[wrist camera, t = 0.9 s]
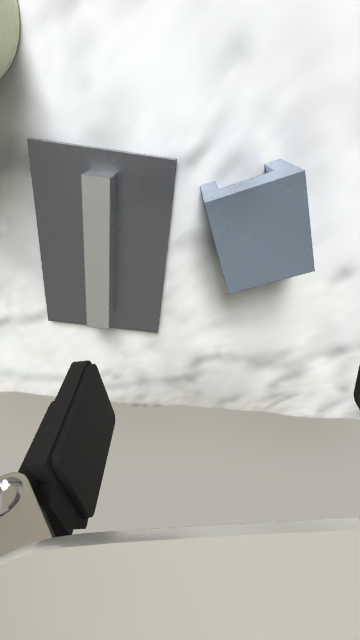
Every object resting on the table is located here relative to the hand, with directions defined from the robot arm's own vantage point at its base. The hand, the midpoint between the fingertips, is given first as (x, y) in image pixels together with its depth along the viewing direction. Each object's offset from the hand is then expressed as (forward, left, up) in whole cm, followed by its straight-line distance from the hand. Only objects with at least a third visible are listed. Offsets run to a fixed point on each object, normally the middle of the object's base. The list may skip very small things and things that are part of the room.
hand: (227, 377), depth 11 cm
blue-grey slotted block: (-4, -1, -19) cm, 19 cm away
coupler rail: (+8, +3, -19) cm, 21 cm away
